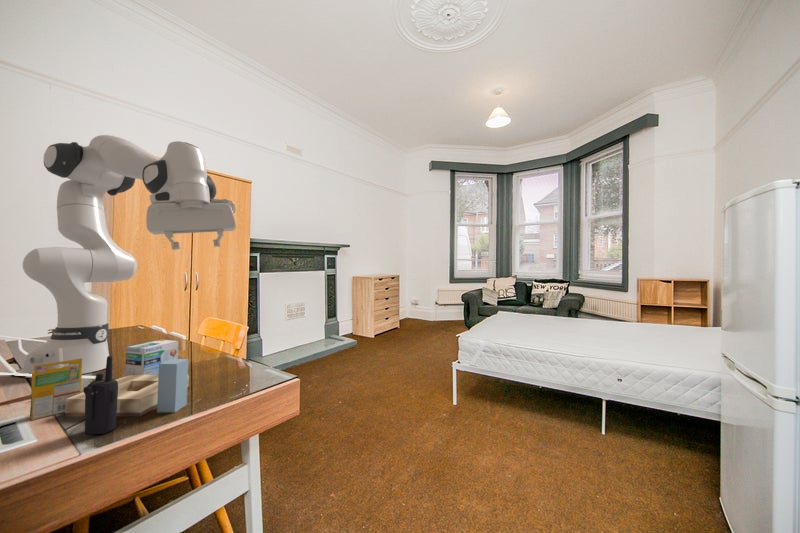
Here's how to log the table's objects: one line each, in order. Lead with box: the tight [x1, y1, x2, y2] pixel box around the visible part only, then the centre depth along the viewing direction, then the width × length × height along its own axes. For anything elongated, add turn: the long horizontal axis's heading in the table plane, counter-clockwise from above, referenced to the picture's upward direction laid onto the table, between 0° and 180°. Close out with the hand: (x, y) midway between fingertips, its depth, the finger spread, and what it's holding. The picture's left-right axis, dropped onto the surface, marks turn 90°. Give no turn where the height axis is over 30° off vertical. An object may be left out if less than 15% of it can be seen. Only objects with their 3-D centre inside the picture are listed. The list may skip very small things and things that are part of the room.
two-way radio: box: [82, 355, 118, 435], centre depth 59 cm, size 6×4×15 cm
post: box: [156, 358, 189, 413], centre depth 70 cm, size 4×4×11 cm
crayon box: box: [29, 358, 83, 421], centre depth 67 cm, size 7×3×12 cm, turn 145°
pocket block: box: [64, 374, 190, 418], centre depth 74 cm, size 16×16×4 cm
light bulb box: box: [124, 339, 179, 376], centre depth 89 cm, size 11×7×11 cm, turn 168°
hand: (197, 247), depth 82 cm, fingers open, 8 cm apart
